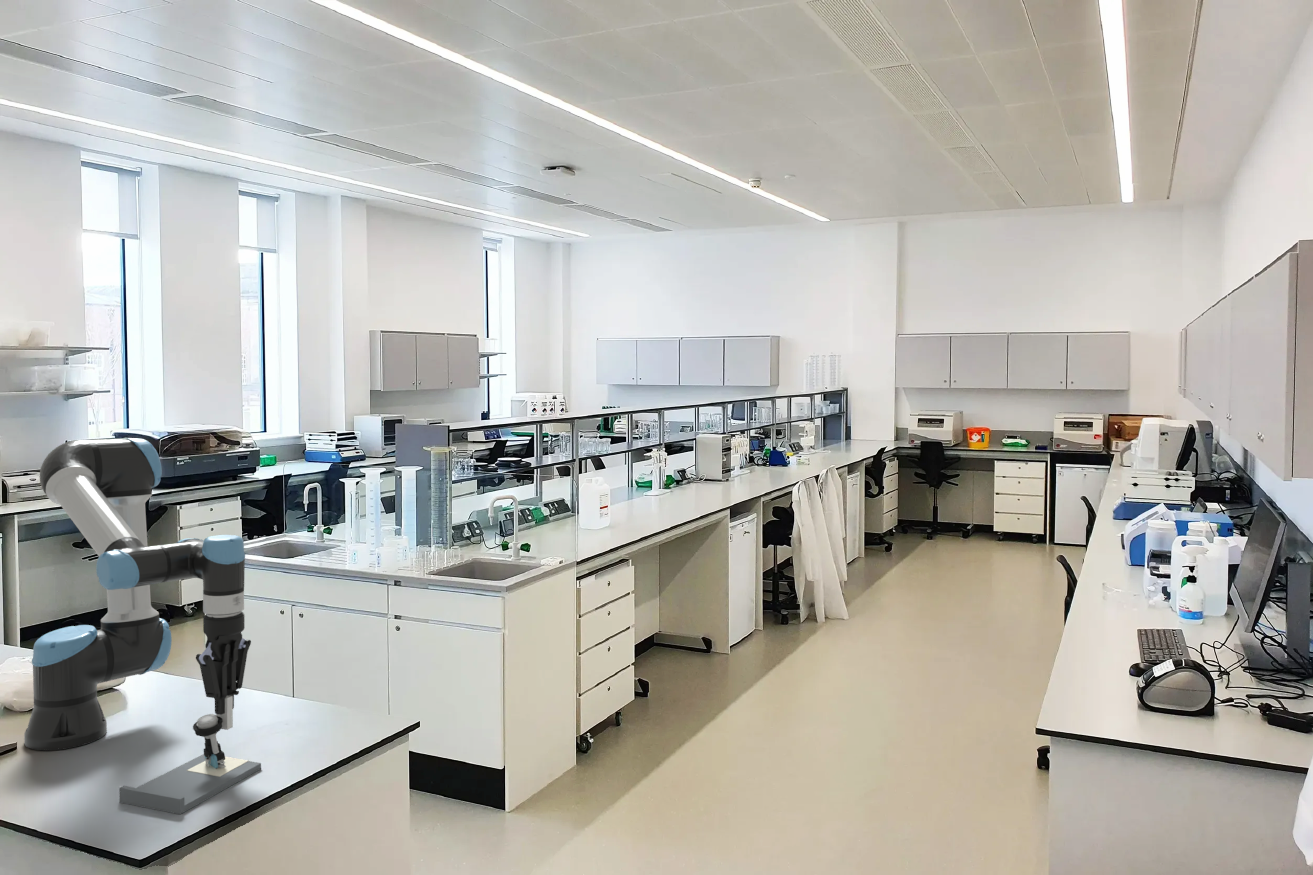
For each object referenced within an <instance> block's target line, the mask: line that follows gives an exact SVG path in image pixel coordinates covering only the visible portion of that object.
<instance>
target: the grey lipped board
mask: <svg viewBox="0 0 1313 875" xmlns="http://www.w3.org/2000/svg"><path fill="white" fill-rule="evenodd" d="M224 762H225V763H224V765H225V766H226V767H225V768H221V767H218V768H216V769H215V768H214V767H213V766H211V765H210V764H209V767H208V766H207V765H208V764H207V765H206V761H205V756H204V753H203V754H201V755H199V756H197V757H195V758H193V759H191V760H189V761H187V762H185V763H183V764H180V765H179V766H177V767H175V768H173V769H171V770H169V771H166V772H165V773H163V774H161V775H159V776H157V777H155V778H153V779H150V780H148V781H147V782H144V783H143V784H140V785H139V786H137V787H133V786H129V785H121V786H120V787H118V788H119V789H118V790H119V791H118V796H119V799H118V800H119V804H126V805H131V806H137V807H142V808H146V809H152V810H156V811H162V812H166V813H171V814H176V815H183V813H185V812H187V811H188V810H190V809H192V808H194V807H196V806H198V805H199V804H202V803H203V802H205V801H207V800H209V799H210V798H212V797H214V796H215V795H218V794H219V793H221V792H222V791H225V790H226V789H228V788H230V787H231V786H233V785H235V784H236V783H239V782H240V781H242V780H244V779H246V778H247V777H249V776H251V775H252V774H254V773H256V772H258V771H260V770H261V769H262V763H261V762H257V761H251V760H249V759H248V760H247V759H242V758H235V757H231V756H225V760H224ZM222 767H224V766H222Z"/></svg>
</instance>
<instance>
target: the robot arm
mask: <svg viewBox="0 0 1313 875" xmlns="http://www.w3.org/2000/svg"><path fill="white" fill-rule="evenodd" d="M162 470H163V468H162V463H161V459H160V455H159V453H158V451H157V450H156V448H155V447H154V445H153V444H152V443H151V442H149V440H146V439H144V438H134V437H133V438H132V437H123V438H102V439H101V438H99V439H96V438H95V439H74V440H71V441H66V442H64V443H61V444H60V445H57V447H55V448H54V449H52V451H50V452H49V453H48V454H47V455H46V457H45V458H44V460H43V462H42V463H41V466H40V469H39V484H40V486H41V489H42V491H43V493H44V494H45V495H46V496H47V498H48V500H49V501H50V502H52V503H54V504H56V505H58V506H59V505H60V507H61V508H62V509H63V510H64V512H65V513H66V514H67V516H68V517H69V518H70V520H71V521H72V522H73V524H74V525H75V527H76V528H77V529H78V530H79V532H80V533H81V535H82V536H83V537H84V539H85V540H86V541H87V543H88V544H89V545H90V546H91V548H92V549H93V551H95V552H94V553H96V555H97V556H98V558H97V560H96V565H95V566H96V567H95V569H96V571H95V572H96V576H97V578H98V582H99V584H100V586H102V588H103V589H106V600H107V613H106V614H105V615H104V616H103V617H101V619H100V629H97V628H96V627H95V626H94V625H91V624H90V625H89V624H78V625H75V626H74V625H71V626H65V627H62V628H58V629H55V630H52V631H49V632H47V633H45V634H42V635H41V636H40V637H39V638H37V640H35V642H34V644H33V650H32V653H33V654H32V659H31V664H32V675H33V676H32V678H33V679H32V680H33V682H32V684H33V686H32V688H33V707H32V711H31V715H30V718H29V722H28V725H27V728H26V729H25V731H24V735H23V736H24V738H23V740H24V746H25V747H26V748H28V749H31V750H34V751H35V750H36V751H58V750H66V749H71V748H77V747H81V746H83V745H87V744H90V743H93V742H95V741H97V740H99V739H101V738H102V737H104V736H105V735H106V734H107V731H108V730H107V729H108V727H107V725H108V724H107V719H106V717H105V714H104V713H103V709H102V707H101V704H100V702H99V700H98V684H101V683H105V682H106V683H107V682H111V681H115V680H120V679H123V678H128V677H131V676H132V677H133V676H136V675H139V676H141V675H144V674H146V673H149V672H154V671H155V670H159V669H160V668H161V667H163V666H164V664H165V663H166V662H167V660H168V658H169V655H170V654H171V649H172V632H171V629H170V625H169V622H168V621H166V619H164V618H160V613H159V611H157V610H156V609H155V608H154V607H153V606H152V604H151V603H152V602H151V598H152V597H151V585H155V584H161V583H168V582H175V581H180V580H181V581H182V580H187V579H200V580H202V583H203V584H202V586H203V587H202V596H203V597H202V612H203V614H205V615H204V616H203V618H202V619H203V620H202V621H203V622H202V624H203V630H202V632H203V634H205V635H206V642H205V644H204V645H205V649H204V650H203V652H202V653H198V654H196V655H195V660H196V662H197V663H198V664H199V668H200V673H201V677H202V683H203V687H204V692H205V696H206V697H207V698H212V699H214V715H216V716H218V717H221V718H222V720H223V722H222V728H221V729H220V730H225V731H228V730H230V729H232V728H234V727H233V726H234V723H233V722H234V718H233V714H234V712H233V710H234V708H235V696H239V693H240V691H239V690H240V689H242V687H243V682H244V676H245V671H246V670H245V669H246V663H247V657H248V652H249V649H250V647H251V645H252V641H251V639H246V638H243V634H242V632H243V631H244V630H245V612H243V611H244V610H245V564H246V563H245V560H246V559H245V558H246V552H245V544H244V539H243V537H241V536H240V535H235V534H217V535H216V534H215V535H211V536H207V537H205V538H204V540H203V539H200V538H195V537H194V538H190V537H189V538H188V537H187V538H183V539H179V540H178V541H176V542H175V543H174V542H173V543H166V544H158V545H149V546H148V531H147V515H146V502H147V501H149V499H150V498H151V497H152V496H153V492H152V489H154V488H156V487H157V486H158V485H159V484H160V482H161V478H162V477H163V476H162V475H163V474H162V473H163V471H162ZM238 689H239V690H238Z"/></svg>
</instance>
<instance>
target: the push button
mask: <svg viewBox="0 0 1313 875" xmlns="http://www.w3.org/2000/svg"><path fill="white" fill-rule="evenodd" d="M222 722H223V720H222V718H221V717H218V716H216V714H215V713H209V714H208V713H207V714H204V715H202V716H200V717H199V718H198V719H197V720H196V722H194V724H193V725H192V730H193V731H194V734H195V735H196V736H199V737H201V738H204V748H203V754H204V756H205V761H206V765H207V764H208V765H207V766H208V767H209V764H210V765H211V766H213V767H214V768H215V769H216V768H218V767H221V768H225V767H226V766H225V765H224V763H225V762H224V760H225V757H226V756H225V752H224V751H223V750H222V747H221V744H220V743H219V741H218V740H217V734H218V733H219V732H220V731H221V730H222V729H221V728H222ZM222 766H224V767H222Z"/></svg>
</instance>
